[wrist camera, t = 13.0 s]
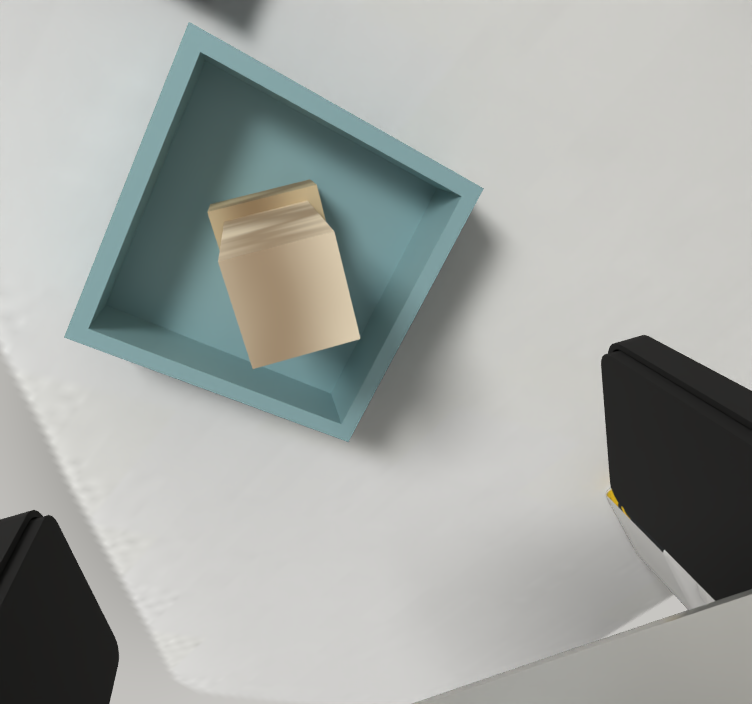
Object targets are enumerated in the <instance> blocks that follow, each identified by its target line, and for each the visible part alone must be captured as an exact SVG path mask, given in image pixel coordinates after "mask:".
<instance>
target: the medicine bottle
mask: <svg viewBox="0 0 752 704" xmlns="http://www.w3.org/2000/svg"><path fill="white" fill-rule="evenodd" d="M606 497H607V499H608V500H609V502H610V504H611V506H612V508H613V510H614V512H615V514H616V515H617V517H618V519H619V521H620V523H621V525H622V527H623V528H624V530H625V532H626V534H627V536H628V538H629V540H630V541H631V543H632V545H633V547H634V549H635V551H636V553H637V554H638V556H639V557H640V558H641V559H642V560H643V561H644V562H645V563H646V564H647V566H648V567H649V568H650V569H651V570H652V571H653V572H654V573H655V574H656V575H657V576H658V577H659V579H660V580H661V581H662V582H663V583H664V584H665V585H666V586H667V587H668V588H669V589H670V591H671V592H672V593H673V594H674V595H675V596H676V597H677V598H678V599H679V600H680V601H681V603H683V605H684V606H685V607H686V608H687V609H688V610H690V609H693V608H696V607H699V606H702V605H705V604H708V603H711V602H714V601H715V600H714V599H713V598H712V597H711V596H710V595H709V594H708V593H707V592H706V591H705V590H704V589H703V588H702V587H701V586H700V585H699V584H698V583H697V582H696V581H695V580H694V579H693V578H692V577H691V576H690V575H689V574H688V573H687V572H686V571H685V570H684V569H683V568H682V567H681V566H680V565H679V564H678V563H677V562H676V561H675V560H674V559H673V558H672V557H671V556H670V555H669V554H668V553H667V552H666V551H665V550H664V549H663V548H662V547H661V546H660V545H659V544H658V543H657V541H656V540H655V539H654V538H653V537H652V536H651V535H650V534H649V533H648V532H647V531H646V530H645V529H644V528H643V527H642V526H641V525H640V524H639V523H638V522H637V521H636V520H635V519H634V518H633V517H632V516H631V515H630V514H629V513H628V512H627V511H626V510H625V509H624V508H623V507H622V506H621V505H620V504H619V503H618V501H617V500H616V498H615V496H614V494H613V492H612V489H611V488H610V489H609V490H607V492H606Z"/></svg>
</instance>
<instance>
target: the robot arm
mask: <svg viewBox="0 0 752 704" xmlns="http://www.w3.org/2000/svg"><path fill="white" fill-rule="evenodd" d="M601 369H602V382H603V395H604V408H605V422H606V435H607V448H608V461H609V474H610V484H611V489H612V492H613V494H614V496H615V498H616V500H617V501H618V503H619V504H620V505H621V506H622V507H623V508H624V509H625V510H626V511H627V512H628V513H629V514H630V515H631V516H632V517H633V518H634V519H635V520H636V521H637V522H638V523H639V524H640V525H641V526H642V527H643V528H644V529H645V530H646V531H647V532H648V533H649V534H650V535H651V536H652V537H653V538H654V539H655V540H656V541H657V543H658V544H659V545H660V546H661V547H662V548H663V549H664V550H665V551H666V552H667V553H668V554H669V555H670V556H671V557H672V558H673V559H674V560H675V561H676V562H677V563H678V564H679V565H680V566H681V567H682V568H683V569H684V570H685V571H686V572H687V573H688V574H689V575H690V576H691V577H692V578H693V579H694V580H695V581H696V582H697V583H698V584H699V585H700V586H701V587H702V588H703V589H704V590H705V591H706V592H707V593H708V594H709V595H710V596H711V597H712V598H713V599H714V600H715V601H714V602H711V603H708V604H705V605H702V606H699V607H696V608H693V609H690V610H687V611H684V612H681V613H678V614H675V615H673V616H669V617H667V618H663V619H661V620H657V621H655V622H651V623H649V624H646V625H643V626H640V627H637V628H634V629H631V630H628V631H625V632H622V633H619V634H616V635H613V636H610V637H607V638H604V639H601V640H598V641H595V642H592V643H589V644H586V645H583V646H580V647H577V648H574V649H571V650H568V651H565V652H562V653H559V654H556V655H553V656H550V657H547V658H544V659H541V660H538V661H535V662H533V663H530V664H527V665H524V666H521V667H518V668H515V669H512V670H509V671H506V672H503V673H500V674H497V675H494V676H492V677H489V678H486V679H483V680H480V681H477V682H474V683H471V684H468V685H465V686H462V687H459V688H456V689H453V690H451V691H448V692H445V693H442V694H439V695H436V696H433V697H430V698H427V699H424V700H421V701H418V702H415V703H413V704H752V391H751V390H749V389H747V388H745V387H743V386H741V385H739V384H738V383H736V382H734V381H732V380H730V379H728V378H726V377H724V376H722V375H721V374H719V373H717V372H715V371H713V370H711V369H709V368H707V367H706V366H704V365H702V364H700V363H698V362H696V361H694V360H692V359H690V358H689V357H687V356H685V355H683V354H681V353H679V352H677V351H675V350H673V349H672V348H670V347H668V346H666V345H664V344H662V343H660V342H658V341H656V340H655V339H653V338H651V337H649V336H646V335H642V336H638V337H635V338H631V339H628V340H624V341H621V342H617V343H614V344H612V345H611V346H610V348H609V351H608V354H605V355H604V356H603V357H602V360H601ZM118 662H119V652H118V645H117V641H116V639H115V637H114V635H113V633H112V631H111V629H110V627H109V625H108V623H107V621H106V619H105V617H104V615H103V613H102V611H101V609H100V607H99V605H98V603H97V601H96V599H95V597H94V595H93V593H92V591H91V589H90V587H89V585H88V583H87V581H86V579H85V577H84V575H83V573H82V571H81V569H80V567H79V565H78V563H77V561H76V559H75V557H74V555H73V553H72V551H71V549H70V547H69V545H68V543H67V541H66V539H65V537H64V535H63V533H62V531H61V529H60V527H59V525H58V523H57V521H56V520H55V519H54V518H53V517H52V516H50V515H48V516H44V517H43V516H42V515H41V514H40V513H39V512H38V511H35V510H32V511H29V512H26V513H22V514H18V515H15V516H11V517H8V518H4V519H1V520H0V704H109V702H110V698H111V694H112V689H113V685H114V680H115V676H116V671H117V667H118Z"/></svg>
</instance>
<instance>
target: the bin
mask: <svg viewBox="0 0 752 704" xmlns="http://www.w3.org/2000/svg"><path fill="white" fill-rule="evenodd" d="M309 179H310V180H312V181H313V182H314V183H315V184H316V185H317V188H318V192H319V196H320V200H321V204H322V208H323V212H324V216H325V220H326V222H327V224H328V225H329V226H330V227H331V228H332V229H333V230H334V232H335V236H336V240H337V244H338V248H339V253H340V257H341V261H342V265H343V269H344V273H345V277H346V281H347V285H348V289H349V294H350V298H351V302H352V306H353V310H354V314H355V318H356V322H357V326H358V330H359V335H360V339H358V340H355V341H351V342H348V343H344V344H341V345H337V346H333V347H330V348H326V349H323V350H319V351H316V352H312V353H309V354H305V355H301V356H298V357H294V358H291V359H287V360H284V361H280V362H276V363H273V364H269V365H266V366H262V367H259V368H255V369H253V368H252V365H251V362H250V359H249V356H248V353H247V350H246V347H245V344H244V341H243V338H242V334H241V331H240V328H239V325H238V322H237V319H236V316H235V313H234V310H233V307H232V303H231V300H230V297H229V294H228V291H227V288H226V285H225V282H224V279H223V276H222V272H221V269H220V266H219V263H218V259H219V252H220V250H219V247H218V244H217V241H216V238H215V235H214V231H213V228H212V225H211V222H210V219H209V216H208V213H207V212H208V209H209V206H210V204H213V203H217V202H221V201H225V200H229V199H233V198H237V197H241V196H245V195H249V194H253V193H257V192H261V191H265V190H269V189H273V188H277V187H281V186H285V185H289V184H293V183H297V182H301V181H305V180H309ZM483 189H484V188H482V187H480V186H478V185H477V184H475V183H473V182H471V181H469V180H468V179H466V178H464V177H462V176H461V175H459V174H457V173H455V172H454V171H452V170H450V169H448V168H446V167H445V166H443V165H441V164H439V163H438V162H436V161H434V160H432V159H431V158H429V157H427V156H425V155H423V154H422V153H420V152H418V151H416V150H415V149H413V148H411V147H409V146H408V145H406V144H404V143H402V142H400V141H399V140H397V139H395V138H393V137H392V136H390V135H388V134H386V133H385V132H383V131H381V130H379V129H378V128H376V127H374V126H372V125H370V124H369V123H367V122H365V121H363V120H362V119H360V118H358V117H356V116H355V115H353V114H351V113H349V112H347V111H346V110H344V109H342V108H340V107H339V106H337V105H335V104H333V103H332V102H330V101H328V100H326V99H324V98H323V97H321V96H319V95H317V94H316V93H314V92H312V91H310V90H309V89H307V88H305V87H303V86H301V85H300V84H298V83H296V82H294V81H293V80H291V79H289V78H287V77H286V76H284V75H282V74H280V73H278V72H277V71H275V70H273V69H271V68H270V67H268V66H266V65H264V64H263V63H261V62H259V61H257V60H255V59H254V58H252V57H250V56H248V55H247V54H245V53H243V52H241V51H240V50H238V49H236V48H234V47H232V46H231V45H229V44H227V43H225V42H224V41H222V40H220V39H218V38H217V37H215V36H213V35H211V34H209V33H208V32H206V31H204V30H202V29H201V28H199V27H197V26H195V25H194V24H192V23H190V22H189V23H188V26H187V28H186V31H185V33H184V36H183V38H182V41H181V43H180V46H179V48H178V51H177V53H176V56H175V58H174V61H173V64H172V66H171V69H170V71H169V74H168V76H167V79H166V81H165V84H164V86H163V89H162V91H161V94H160V96H159V99H158V101H157V104H156V107H155V109H154V112H153V114H152V117H151V119H150V122H149V124H148V127H147V129H146V132H145V134H144V137H143V139H142V142H141V144H140V147H139V149H138V152H137V155H136V157H135V160H134V162H133V165H132V167H131V170H130V172H129V175H128V177H127V180H126V182H125V185H124V187H123V190H122V192H121V195H120V198H119V200H118V203H117V205H116V208H115V210H114V213H113V215H112V218H111V220H110V223H109V225H108V228H107V230H106V233H105V235H104V238H103V240H102V243H101V246H100V248H99V251H98V253H97V256H96V258H95V261H94V263H93V266H92V268H91V271H90V273H89V276H88V278H87V281H86V283H85V286H84V289H83V291H82V294H81V296H80V299H79V301H78V304H77V306H76V309H75V311H74V314H73V316H72V319H71V321H70V324H69V326H68V329H67V331H66V334H65V337H64V338H67V339H70V340H73V341H75V342H78V343H81V344H83V345H86V346H89V347H92V348H94V349H97V350H100V351H102V352H105V353H108V354H111V355H113V356H116V357H119V358H121V359H124V360H127V361H130V362H132V363H135V364H138V365H140V366H143V367H146V368H149V369H151V370H154V371H157V372H159V373H162V374H165V375H168V376H170V377H173V378H176V379H178V380H181V381H184V382H187V383H189V384H192V385H195V386H197V387H200V388H203V389H206V390H208V391H211V392H214V393H216V394H219V395H222V396H225V397H227V398H230V399H233V400H236V401H238V402H241V403H244V404H246V405H249V406H252V407H255V408H257V409H260V410H263V411H265V412H268V413H271V414H274V415H276V416H279V417H282V418H284V419H287V420H290V421H293V422H295V423H298V424H301V425H303V426H306V427H309V428H312V429H314V430H317V431H320V432H322V433H325V434H328V435H331V436H333V437H336V438H339V439H341V440H344V441H347V442H349V440H350V438H351V436H352V434H353V432H354V430H355V429H356V427H357V425H358V423H359V421H360V419H361V417H362V415H363V414H364V412H365V410H366V408H367V406H368V404H369V402H370V400H371V399H372V397H373V395H374V393H375V391H376V389H377V387H378V385H379V384H380V382H381V380H382V378H383V376H384V374H385V372H386V370H387V369H388V367H389V365H390V363H391V361H392V359H393V357H394V355H395V354H396V352H397V350H398V348H399V346H400V344H401V342H402V340H403V339H404V337H405V335H406V333H407V331H408V329H409V327H410V325H411V324H412V322H413V320H414V318H415V316H416V314H417V312H418V310H419V309H420V307H421V305H422V303H423V301H424V299H425V297H426V295H427V294H428V292H429V290H430V288H431V286H432V284H433V282H434V280H435V279H436V277H437V275H438V273H439V271H440V269H441V267H442V266H443V264H444V262H445V260H446V258H447V256H448V254H449V252H450V251H451V249H452V247H453V245H454V243H455V241H456V239H457V237H458V236H459V234H460V232H461V230H462V228H463V226H464V224H465V222H466V221H467V219H468V217H469V215H470V213H471V211H472V209H473V207H474V206H475V204H476V202H477V200H478V198H479V196H480V194H481V192H482V191H483Z"/></svg>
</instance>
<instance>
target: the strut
mask: <svg viewBox="0 0 752 704" xmlns="http://www.w3.org/2000/svg"><path fill="white" fill-rule="evenodd" d="M207 213H208V216H209V219H210V222H211V225H212V228H213V231H214V235H215V238H216V241H217V244H218V247H219V250H220V252H219V259H218V263H219V266H220V269H221V272H222V276H223V279H224V282H225V285H226V288H227V291H228V294H229V297H230V300H231V303H232V307H233V310H234V313H235V316H236V319H237V322H238V325H239V328H240V331H241V334H242V338H243V341H244V344H245V347H246V350H247V353H248V356H249V359H250V362H251V365H252V368H253V369H255V368H259V367H262V366H266V365H269V364H273V363H276V362H280V361H284V360H287V359H291V358H294V357H298V356H301V355H305V354H309V353H312V352H316V351H319V350H323V349H326V348H330V347H333V346H337V345H341V344H344V343H348V342H351V341H355V340H358V339H360V335H359V330H358V326H357V322H356V318H355V314H354V310H353V306H352V302H351V298H350V294H349V289H348V285H347V281H346V277H345V273H344V269H343V265H342V261H341V257H340V253H339V248H338V244H337V240H336V236H335V232H334V230H333V229H332V228H331V227H330V226H329V225H328V224H327V222H326V220H325V216H324V212H323V208H322V204H321V200H320V196H319V192H318V188H317V185H316V184H315V183H314V182H313V181H312V180H310V179H309V180H305V181H301V182H297V183H293V184H289V185H285V186H281V187H277V188H273V189H269V190H265V191H261V192H257V193H253V194H249V195H245V196H241V197H237V198H233V199H229V200H225V201H221V202H217V203H213V204H210V206H209V209H208V212H207Z"/></svg>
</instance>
